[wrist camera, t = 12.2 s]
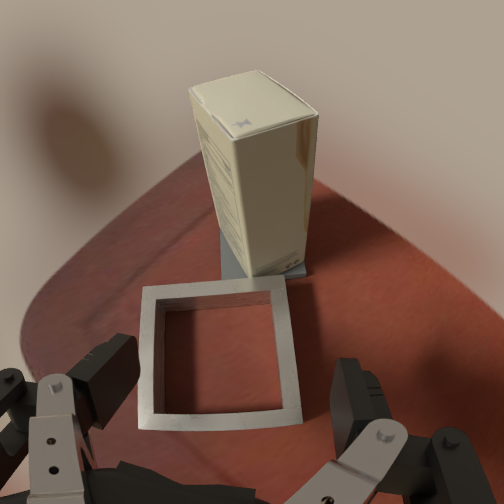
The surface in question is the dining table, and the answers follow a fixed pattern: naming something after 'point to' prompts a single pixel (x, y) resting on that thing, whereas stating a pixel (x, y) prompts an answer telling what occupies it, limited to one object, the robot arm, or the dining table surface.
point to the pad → (235, 271)
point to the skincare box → (258, 167)
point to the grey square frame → (210, 297)
